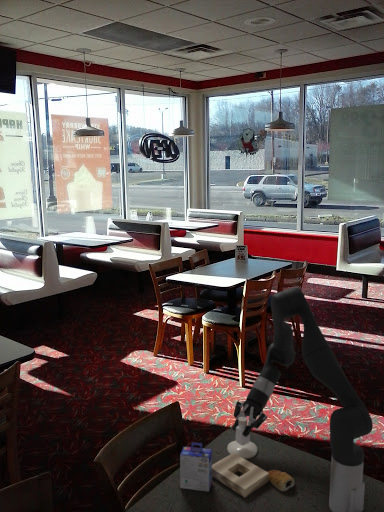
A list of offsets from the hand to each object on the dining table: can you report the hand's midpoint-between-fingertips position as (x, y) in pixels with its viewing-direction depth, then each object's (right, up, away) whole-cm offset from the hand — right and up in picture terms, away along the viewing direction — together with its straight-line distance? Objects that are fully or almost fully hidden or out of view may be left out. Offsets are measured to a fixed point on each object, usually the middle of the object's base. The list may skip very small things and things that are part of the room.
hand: (239, 433), depth 180 cm
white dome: (+1, -7, +3) cm, 8 cm away
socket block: (-1, -10, -13) cm, 17 cm away
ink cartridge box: (-16, -11, -17) cm, 26 cm away
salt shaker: (+1, -4, +2) cm, 5 cm away
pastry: (+12, -11, -16) cm, 23 cm away
